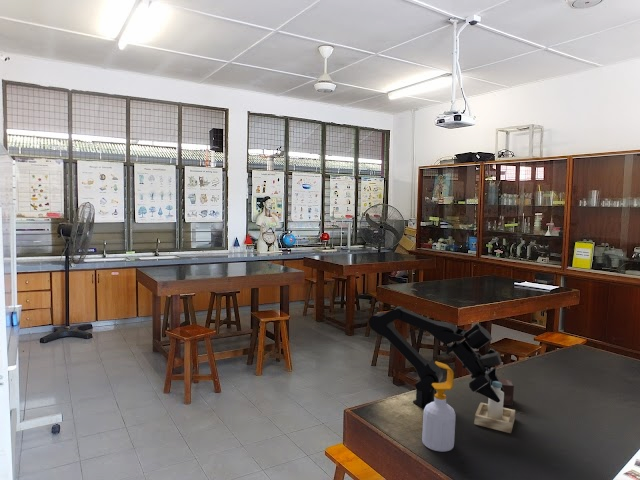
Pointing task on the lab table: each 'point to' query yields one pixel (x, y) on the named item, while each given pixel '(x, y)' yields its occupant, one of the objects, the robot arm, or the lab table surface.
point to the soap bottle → (439, 417)
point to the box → (507, 391)
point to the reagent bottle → (493, 407)
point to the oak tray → (493, 423)
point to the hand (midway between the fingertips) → (501, 396)
